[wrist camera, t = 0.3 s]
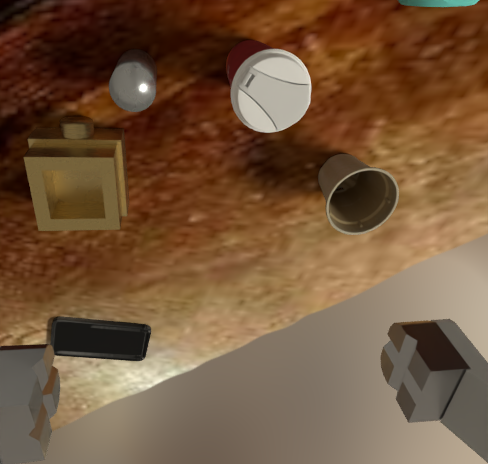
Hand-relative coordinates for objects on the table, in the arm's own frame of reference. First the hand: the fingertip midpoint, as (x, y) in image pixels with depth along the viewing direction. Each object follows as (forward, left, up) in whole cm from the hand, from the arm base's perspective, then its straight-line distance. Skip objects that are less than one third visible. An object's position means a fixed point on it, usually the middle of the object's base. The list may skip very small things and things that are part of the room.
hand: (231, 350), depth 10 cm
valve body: (+15, -12, -46) cm, 50 cm away
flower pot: (+16, +22, -46) cm, 54 cm away
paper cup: (+2, +8, -46) cm, 47 cm away
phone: (+45, -13, -46) cm, 66 cm away
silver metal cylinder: (+3, -5, -46) cm, 46 cm away
